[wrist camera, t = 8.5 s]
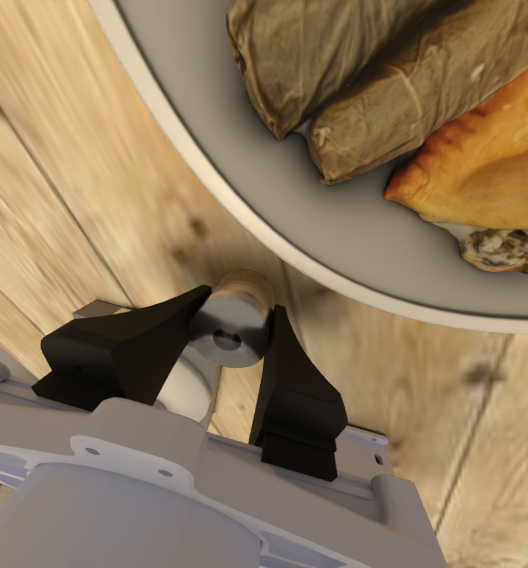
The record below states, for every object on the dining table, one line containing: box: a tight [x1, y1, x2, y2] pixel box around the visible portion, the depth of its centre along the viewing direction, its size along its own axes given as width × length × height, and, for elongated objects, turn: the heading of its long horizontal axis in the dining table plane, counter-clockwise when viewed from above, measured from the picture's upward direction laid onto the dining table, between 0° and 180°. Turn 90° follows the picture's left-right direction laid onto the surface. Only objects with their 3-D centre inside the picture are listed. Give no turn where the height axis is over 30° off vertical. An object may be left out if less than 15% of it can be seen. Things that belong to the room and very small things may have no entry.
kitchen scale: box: [72, 300, 221, 432], centre depth 18 cm, size 12×14×3 cm
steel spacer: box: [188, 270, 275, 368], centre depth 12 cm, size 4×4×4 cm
